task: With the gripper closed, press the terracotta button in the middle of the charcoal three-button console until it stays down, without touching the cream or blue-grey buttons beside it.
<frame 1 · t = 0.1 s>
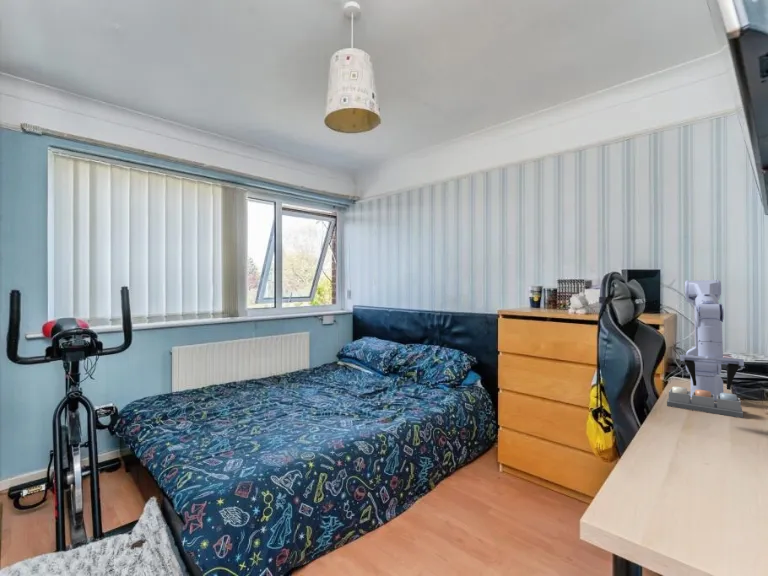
hand: (711, 387, 111), 10 cm above the table, tool pointing down, fingers open, 7 cm apart
cream button: (679, 392, 128), point 4 cm above the table, slide at 0.0 cm
console: (703, 408, 124), on the table
bluegrey button: (728, 399, 120), point 4 cm above the table, slide at 0.0 cm
terracotta button: (703, 395, 124), point 4 cm above the table, slide at 0.0 cm
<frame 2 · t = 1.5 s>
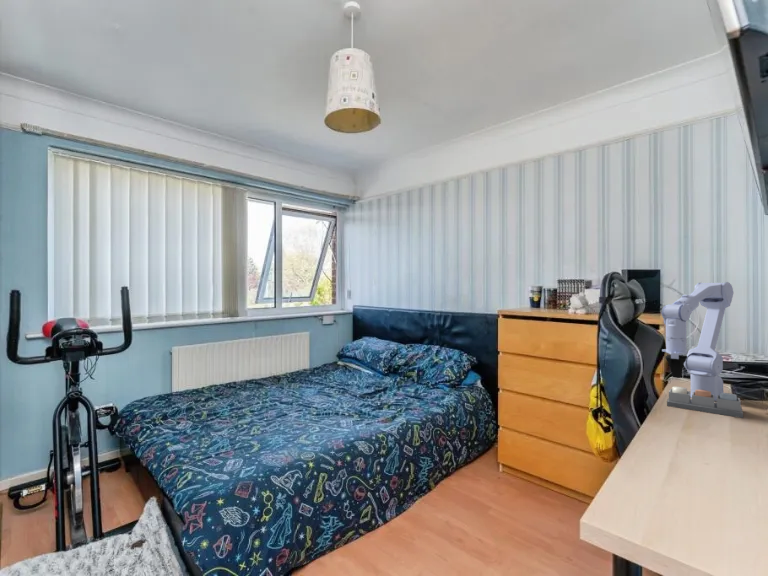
hand: (676, 376, 130), 9 cm above the table, tool pointing down, fingers open, 3 cm apart
nothing on the table moved.
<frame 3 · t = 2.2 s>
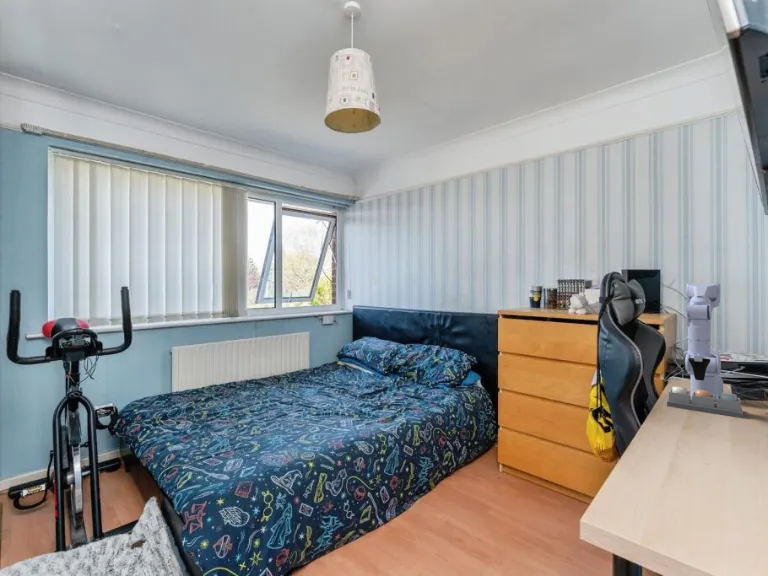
hand: (699, 379, 125), 9 cm above the table, tool pointing down, fingers closed
nothing on the table moved.
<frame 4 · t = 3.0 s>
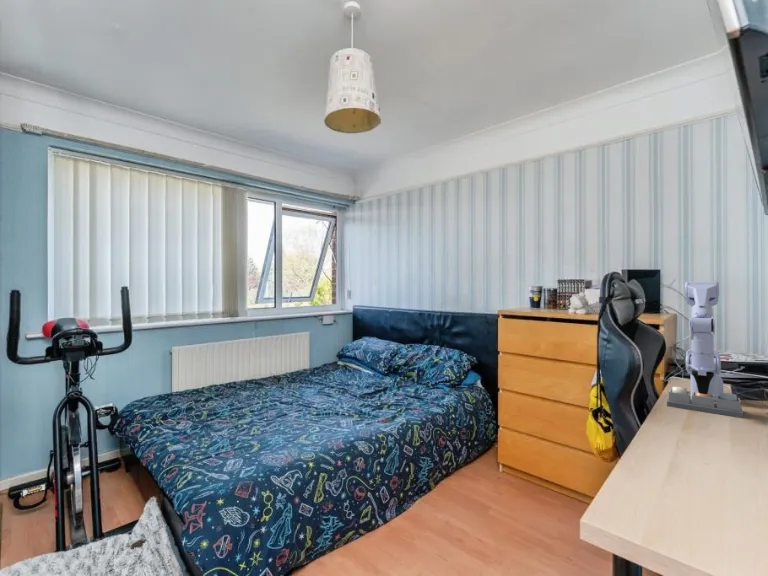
hand: (703, 393, 124), 5 cm above the table, tool pointing down, fingers closed, pressing on terracotta button
terracotta button: (703, 397, 124), point 4 cm above the table, slide at 0.8 cm, touching gripper
everything else where it was.
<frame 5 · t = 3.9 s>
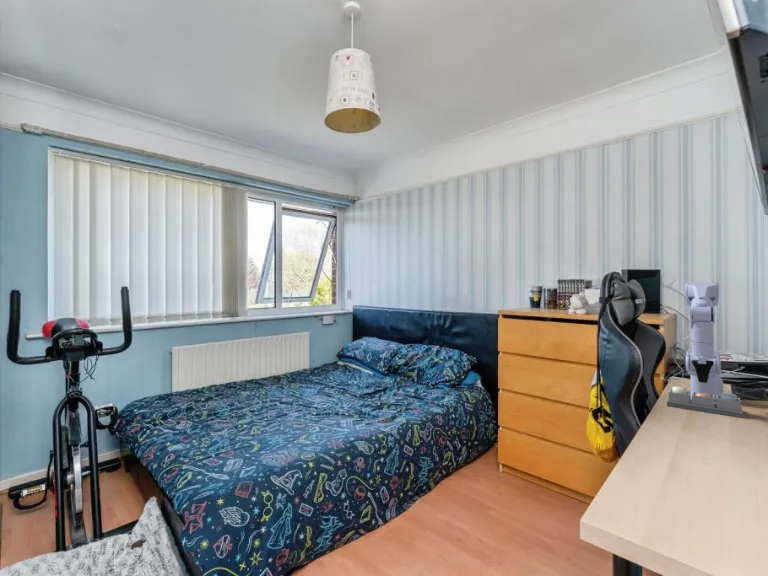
hand: (702, 382, 124), 9 cm above the table, tool pointing down, fingers closed
terracotta button: (703, 398, 124), point 3 cm above the table, slide at 1.1 cm
everything else where it was.
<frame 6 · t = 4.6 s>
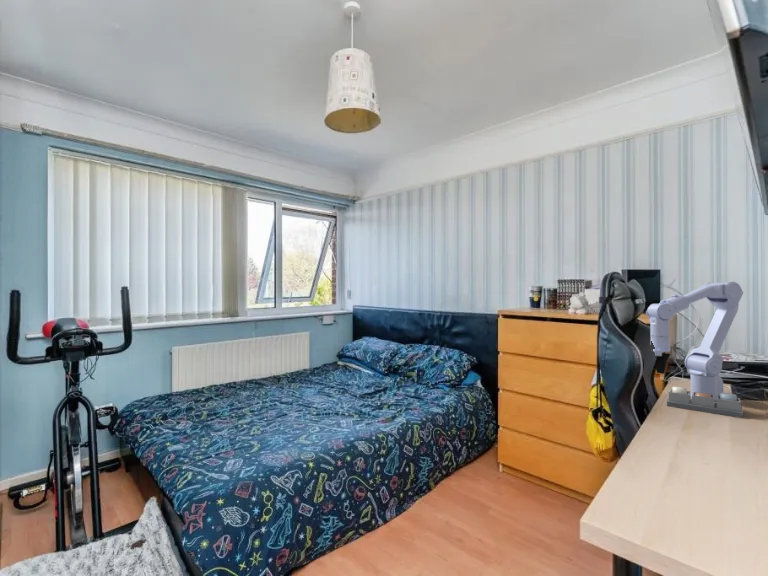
hand: (660, 373, 136), 9 cm above the table, tool pointing down, fingers closed
nothing on the table moved.
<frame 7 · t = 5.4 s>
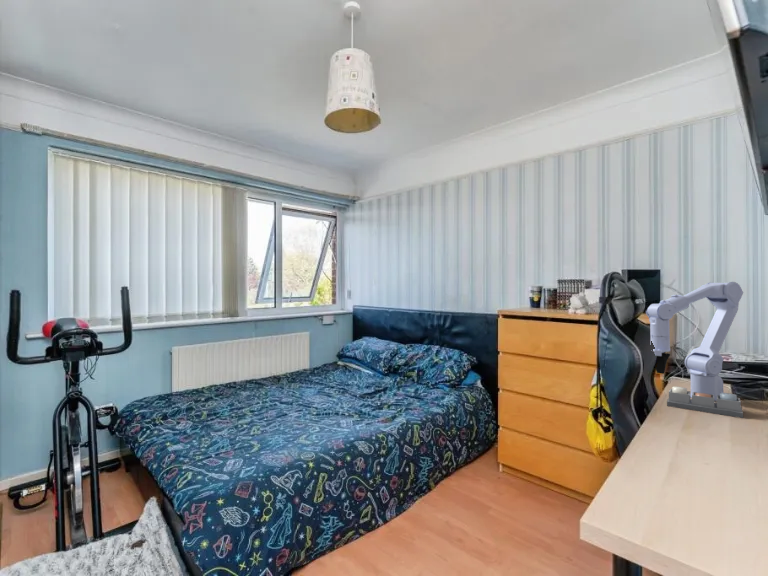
hand: (660, 373, 136), 9 cm above the table, tool pointing down, fingers closed
nothing on the table moved.
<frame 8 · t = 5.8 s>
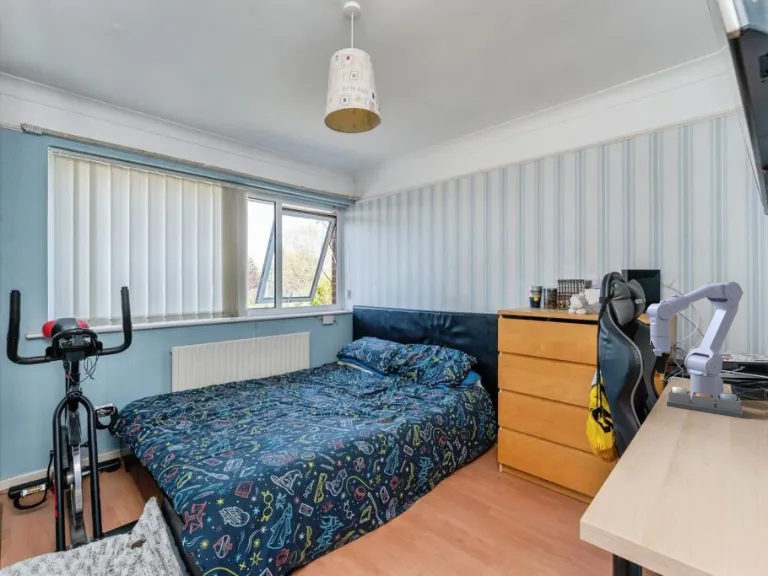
hand: (660, 373, 136), 9 cm above the table, tool pointing down, fingers closed
nothing on the table moved.
at the end: terracotta button slide at 1.1 cm; cream button slide at 0.0 cm; bluegrey button slide at 0.0 cm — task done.
